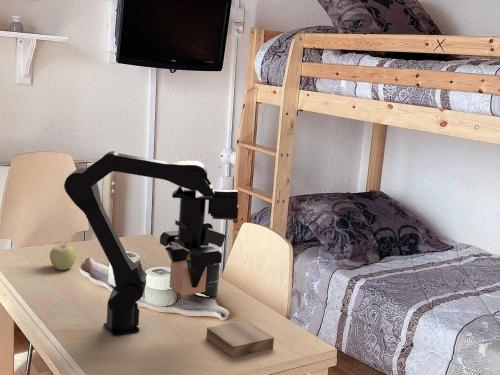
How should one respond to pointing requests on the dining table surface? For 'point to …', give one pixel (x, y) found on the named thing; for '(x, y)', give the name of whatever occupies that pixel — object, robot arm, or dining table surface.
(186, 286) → the terracotta cube
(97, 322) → the dining table surface
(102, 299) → the dining table surface
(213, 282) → the supplement bottle
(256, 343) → the walnut base
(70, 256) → the fruit
